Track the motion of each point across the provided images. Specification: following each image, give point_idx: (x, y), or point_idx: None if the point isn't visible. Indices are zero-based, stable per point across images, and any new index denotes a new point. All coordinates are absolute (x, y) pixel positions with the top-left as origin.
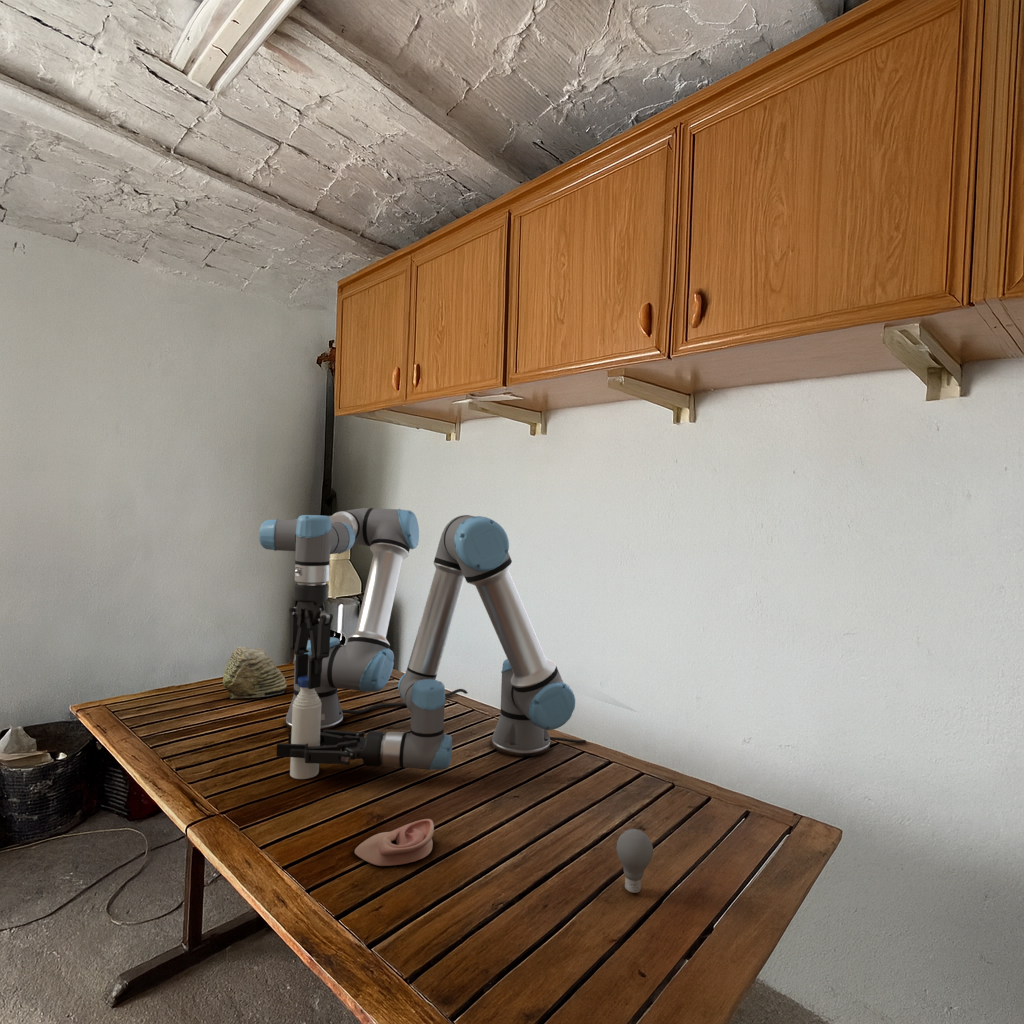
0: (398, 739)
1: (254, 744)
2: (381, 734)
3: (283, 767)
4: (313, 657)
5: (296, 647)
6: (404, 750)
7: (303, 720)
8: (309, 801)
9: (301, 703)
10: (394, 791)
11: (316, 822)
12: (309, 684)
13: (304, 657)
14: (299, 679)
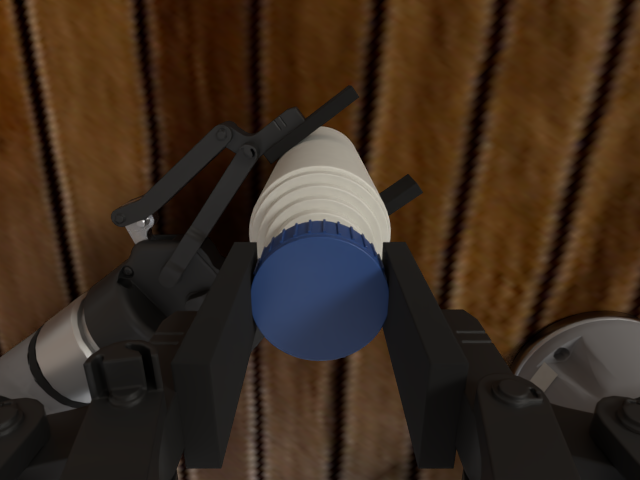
0: (45, 359)
1: (607, 182)
2: (102, 347)
3: (398, 148)
4: (109, 391)
5: (521, 443)
6: (28, 342)
7: (275, 172)
8: (155, 71)
9: (290, 190)
10: (70, 258)
11: (30, 9)
12: (238, 253)
13: (416, 410)
14: (327, 239)
